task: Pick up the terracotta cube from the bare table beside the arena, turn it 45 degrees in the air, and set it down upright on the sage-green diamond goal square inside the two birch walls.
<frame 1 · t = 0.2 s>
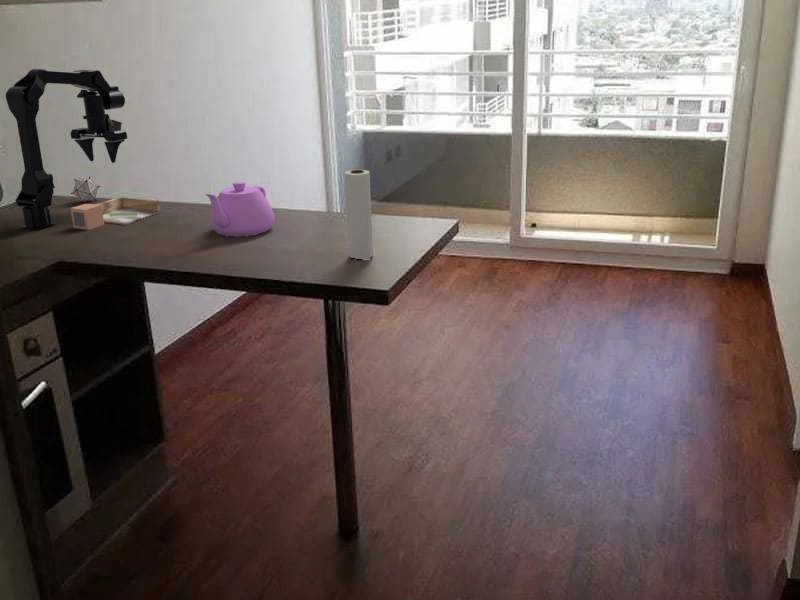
hand: (102, 161, 252), 14 cm above the countertop, fingers open, 9 cm apart
arena: (124, 217, 243), on the countertop
paper towel roll: (360, 258, 197), on the countertop
cube: (89, 226, 233), on the countertop
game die: (87, 202, 265), on the countertop
teapot: (241, 231, 224), on the countertop
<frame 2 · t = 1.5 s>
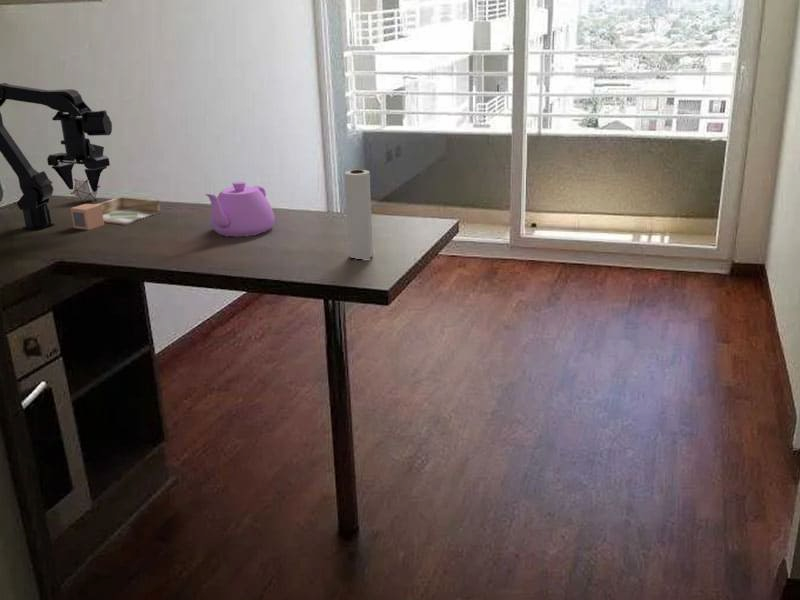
hand: (83, 190, 230), 11 cm above the countertop, fingers open, 9 cm apart
nothing on the countertop moved.
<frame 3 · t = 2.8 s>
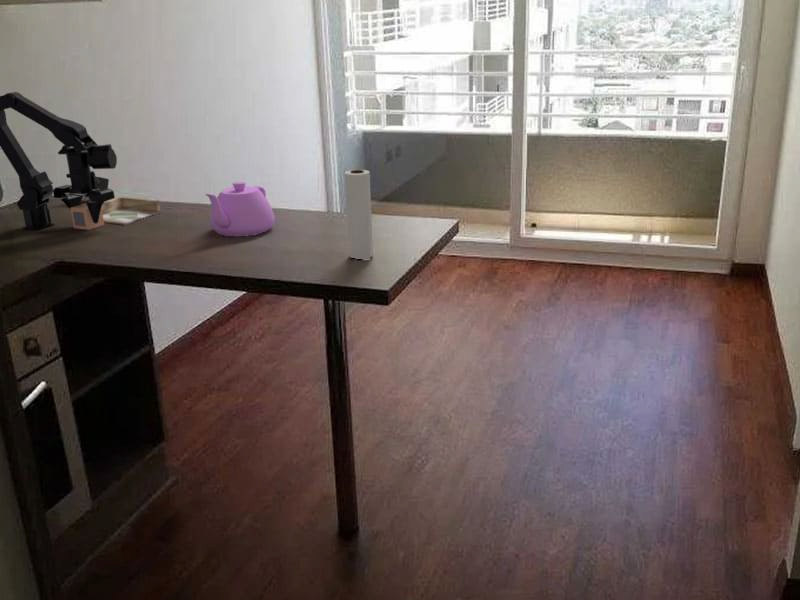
hand: (88, 222, 233), 1 cm above the countertop, fingers closed on cube, 6 cm apart
cube: (89, 226, 233), on the countertop, touching gripper
everything else where it was.
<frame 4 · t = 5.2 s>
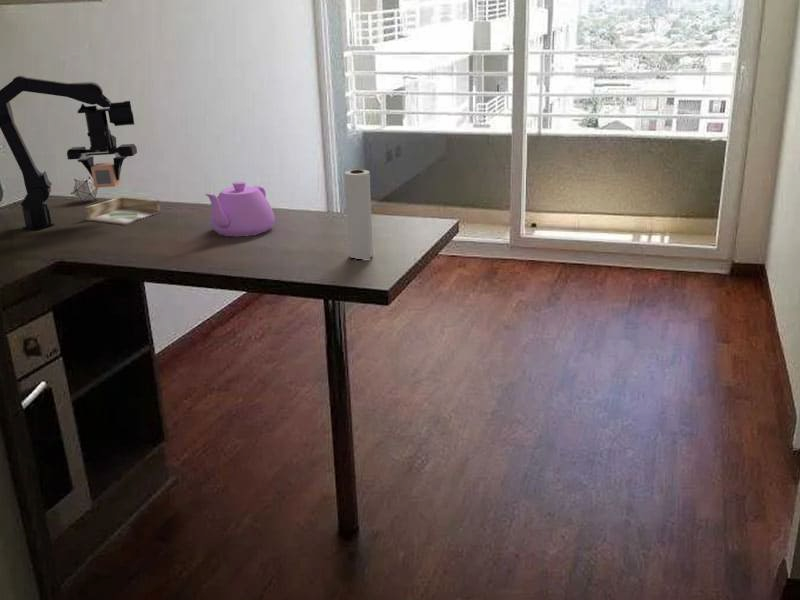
hand: (107, 180, 236), 12 cm above the countertop, fingers closed on cube, 6 cm apart
cube: (107, 184, 236), point 11 cm above the countertop, touching gripper
everything else where it was.
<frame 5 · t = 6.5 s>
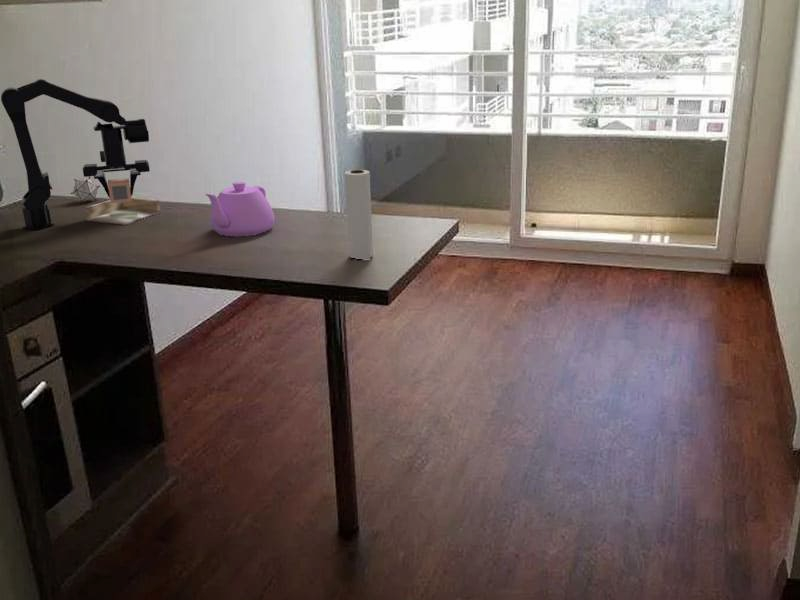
hand: (120, 196, 242), 6 cm above the countertop, fingers closed on cube, 6 cm apart
cube: (121, 200, 242), point 5 cm above the countertop, touching gripper
everything else where it was.
when the fingers open (3 cm above the countertop, at t = 7.5 s): cube drops 1 cm, resting on arena.
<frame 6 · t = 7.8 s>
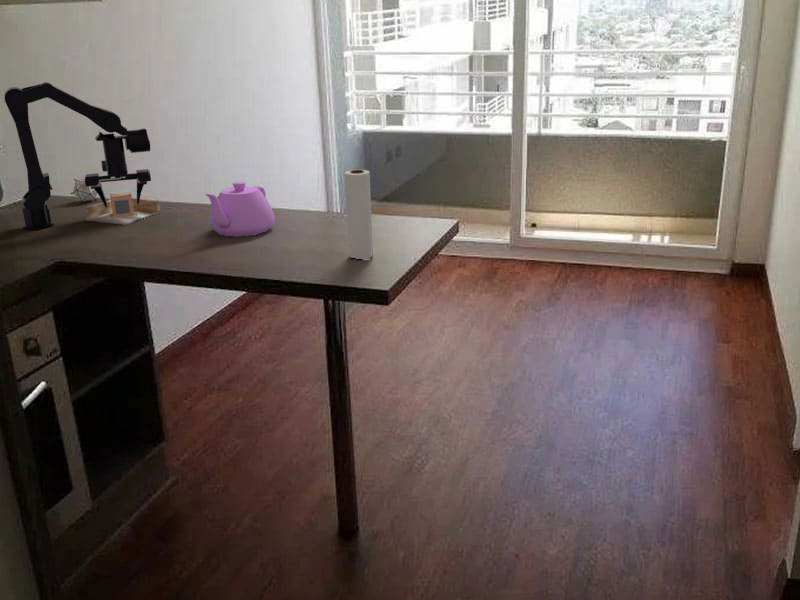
hand: (122, 205, 243), 3 cm above the countertop, fingers open, 9 cm apart
cube: (123, 214, 244), point 1 cm above the countertop, touching arena
everything else where it was.
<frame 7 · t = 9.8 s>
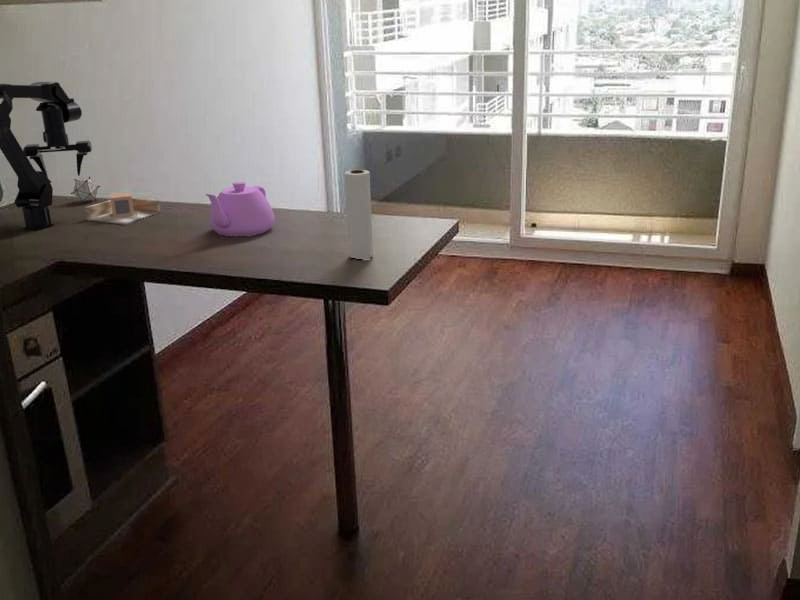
hand: (63, 176, 243), 12 cm above the countertop, fingers open, 9 cm apart
nothing on the countertop moved.
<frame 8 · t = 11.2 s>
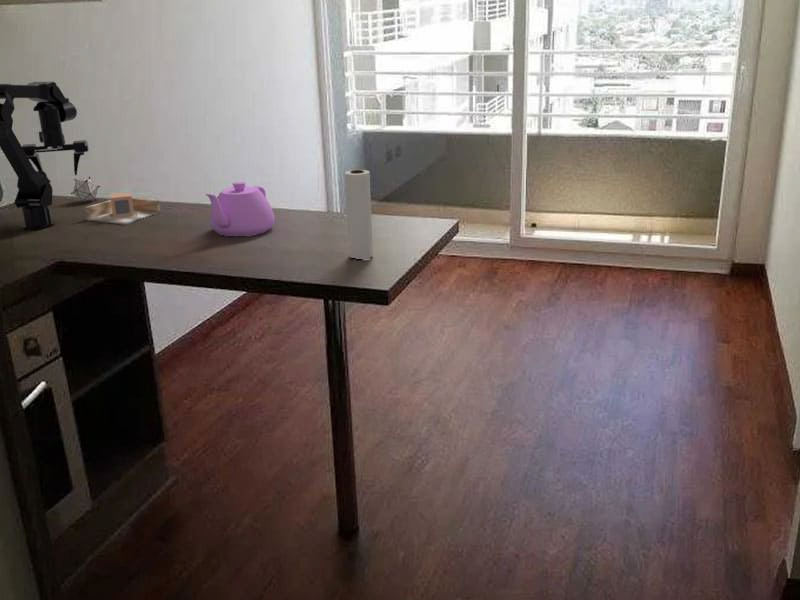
hand: (59, 176, 244), 12 cm above the countertop, fingers open, 9 cm apart
nothing on the countertop moved.
at the end: cube 0.1 cm from the target spot on the arena, point 0.6 cm above the arena's base; cube tilted 0°; the gripper is holding nothing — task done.
